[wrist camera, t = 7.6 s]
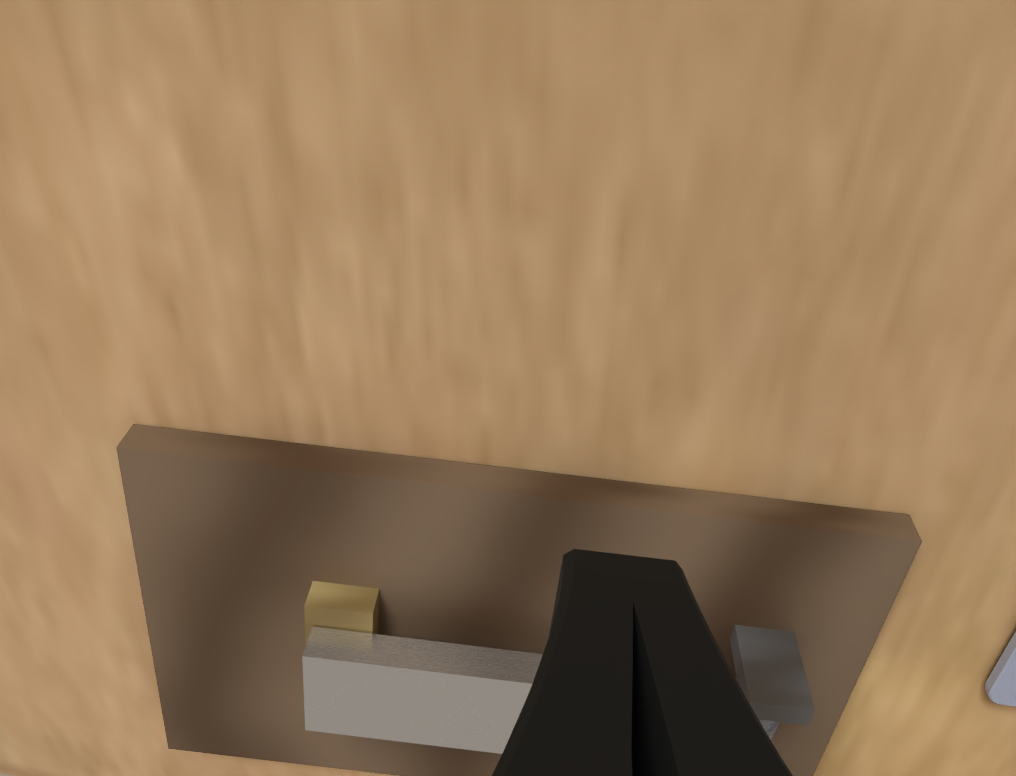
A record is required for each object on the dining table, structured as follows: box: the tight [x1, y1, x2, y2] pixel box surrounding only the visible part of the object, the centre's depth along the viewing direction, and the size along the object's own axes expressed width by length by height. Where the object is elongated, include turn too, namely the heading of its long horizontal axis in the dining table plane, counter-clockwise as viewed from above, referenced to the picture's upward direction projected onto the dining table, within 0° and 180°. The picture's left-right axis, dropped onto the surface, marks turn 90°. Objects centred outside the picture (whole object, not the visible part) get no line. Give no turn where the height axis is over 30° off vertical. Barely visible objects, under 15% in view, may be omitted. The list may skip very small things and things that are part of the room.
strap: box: [302, 626, 780, 754], centre depth 24 cm, size 12×3×1 cm, turn 84°
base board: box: [117, 424, 922, 776], centre depth 25 cm, size 20×12×4 cm, turn 84°
